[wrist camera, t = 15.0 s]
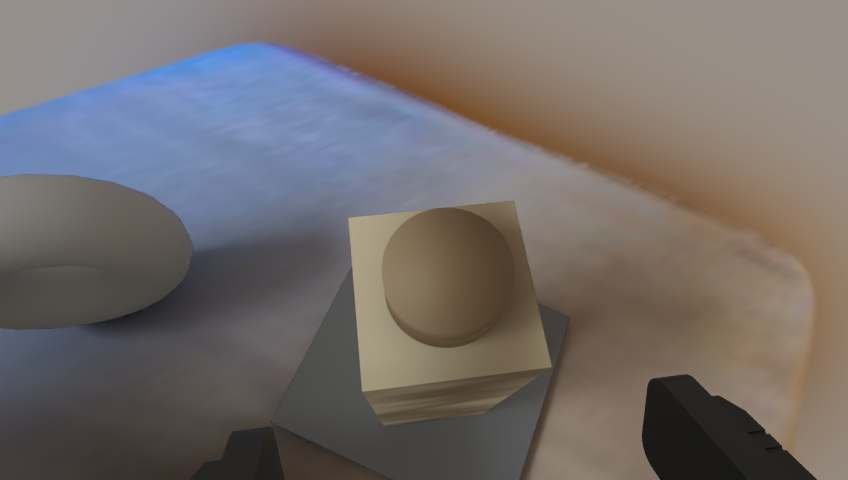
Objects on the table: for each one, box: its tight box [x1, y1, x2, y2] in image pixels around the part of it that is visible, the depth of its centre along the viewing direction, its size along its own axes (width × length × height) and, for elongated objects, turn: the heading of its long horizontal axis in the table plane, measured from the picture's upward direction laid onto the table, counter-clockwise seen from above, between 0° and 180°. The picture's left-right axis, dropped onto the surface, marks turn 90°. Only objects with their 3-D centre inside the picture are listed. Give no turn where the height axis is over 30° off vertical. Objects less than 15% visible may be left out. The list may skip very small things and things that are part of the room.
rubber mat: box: [271, 267, 570, 480], centre depth 24 cm, size 11×10×1 cm
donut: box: [0, 174, 193, 330], centre depth 21 cm, size 10×4×10 cm, turn 106°
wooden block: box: [348, 201, 552, 427], centre depth 18 cm, size 4×4×14 cm
